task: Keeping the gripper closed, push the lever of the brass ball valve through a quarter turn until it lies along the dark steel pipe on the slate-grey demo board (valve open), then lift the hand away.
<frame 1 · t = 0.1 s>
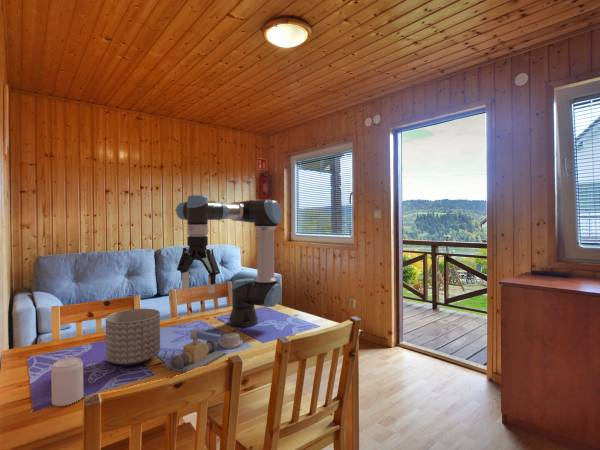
hand: (197, 290, 134), 28 cm above the table, fingers open, 13 cm apart
beverage can: (68, 401, 107), on the table
mechanical component: (231, 345, 154), on the table
lever: (205, 336, 134), point 10 cm above the table, hinge at 90.0°
planter: (134, 361, 136), on the table
valve assembly: (195, 360, 137), on the table
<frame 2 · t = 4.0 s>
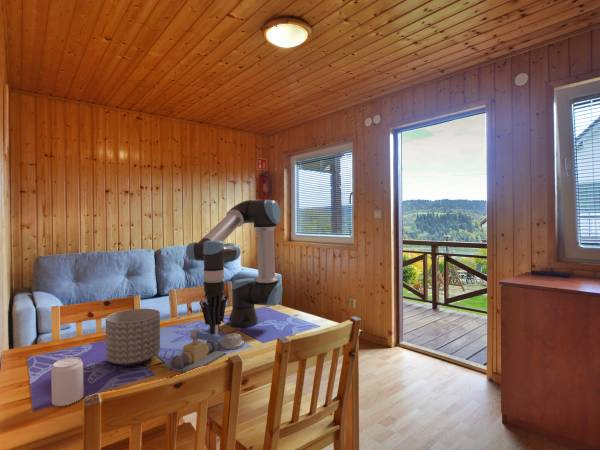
hand: (214, 341, 135), 8 cm above the table, fingers closed
mechanical component: (232, 346, 153), on the table
lever: (205, 336, 134), point 10 cm above the table, hinge at 88.4°, touching gripper
everything else where it was.
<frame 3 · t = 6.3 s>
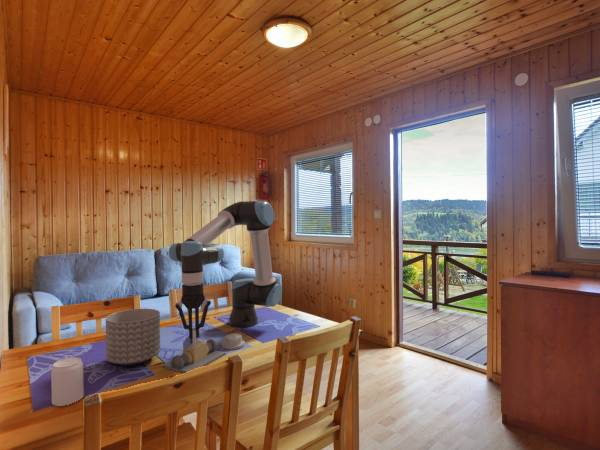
hand: (194, 346, 129), 8 cm above the table, fingers closed
lever: (191, 338, 131), point 10 cm above the table, hinge at 26.3°, touching gripper
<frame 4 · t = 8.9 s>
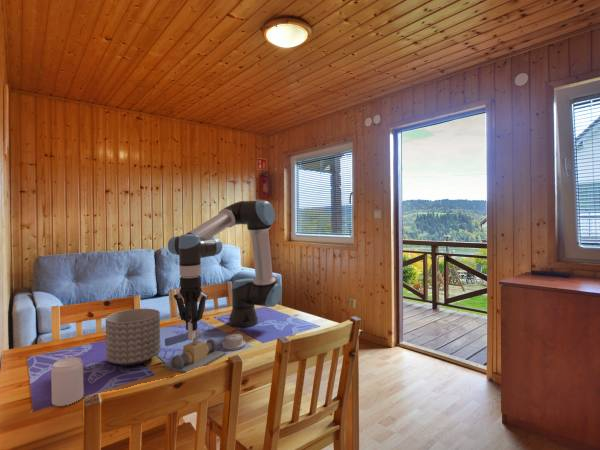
hand: (191, 338, 130), 11 cm above the table, fingers closed
lever: (183, 337, 133), point 10 cm above the table, hinge at -15.6°
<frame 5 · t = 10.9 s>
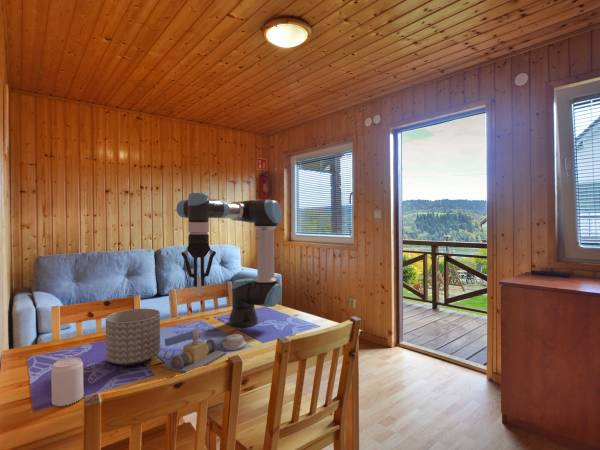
hand: (199, 294, 134), 26 cm above the table, fingers closed
at the end: lever at -16° (first picture: +90°); mechanical component moved 2.8 cm from its start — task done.
